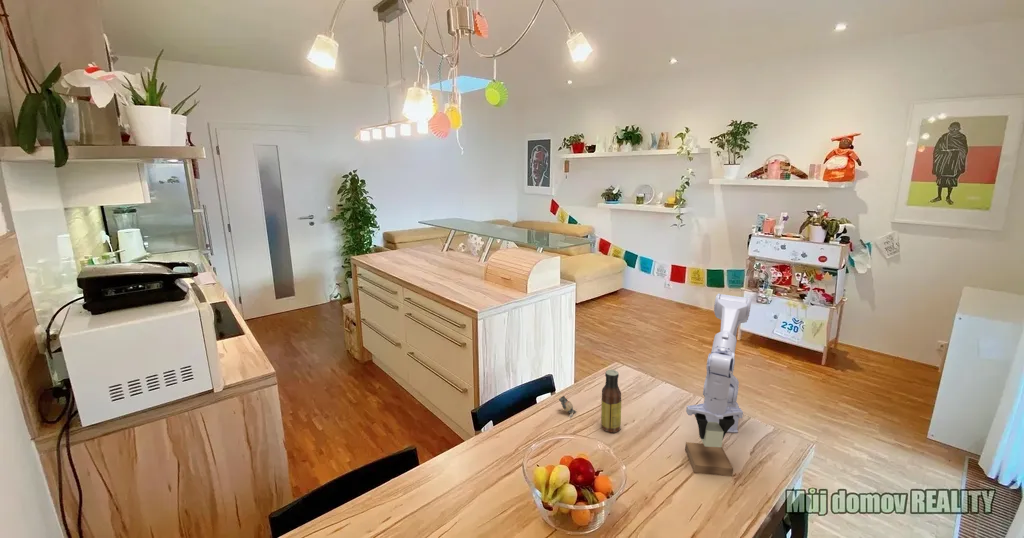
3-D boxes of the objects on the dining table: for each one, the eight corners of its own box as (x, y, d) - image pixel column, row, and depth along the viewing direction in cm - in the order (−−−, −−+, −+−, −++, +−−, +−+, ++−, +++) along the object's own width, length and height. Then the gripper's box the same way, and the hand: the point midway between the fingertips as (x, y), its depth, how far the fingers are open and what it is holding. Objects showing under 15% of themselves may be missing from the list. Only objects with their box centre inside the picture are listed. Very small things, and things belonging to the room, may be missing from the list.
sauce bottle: (621, 424, 142) (625, 369, 137) (619, 435, 136) (623, 378, 131) (601, 420, 144) (604, 366, 139) (598, 431, 138) (601, 375, 133)
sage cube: (715, 437, 124) (717, 422, 123) (721, 447, 120) (723, 431, 118) (699, 436, 124) (701, 421, 123) (704, 446, 120) (706, 430, 119)
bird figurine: (555, 414, 147) (556, 398, 146) (562, 408, 151) (563, 392, 150) (570, 419, 144) (571, 402, 143) (576, 412, 149) (577, 396, 148)
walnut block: (719, 453, 128) (720, 445, 127) (731, 477, 118) (733, 468, 118) (684, 450, 129) (685, 442, 129) (694, 474, 120) (695, 465, 119)
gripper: (693, 400, 115) (688, 444, 119) (750, 403, 114) (743, 448, 117) (686, 387, 122) (681, 429, 125) (739, 390, 121) (733, 432, 124)
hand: (710, 437), depth 122 cm, fingers closed on sage cube, 4 cm apart
